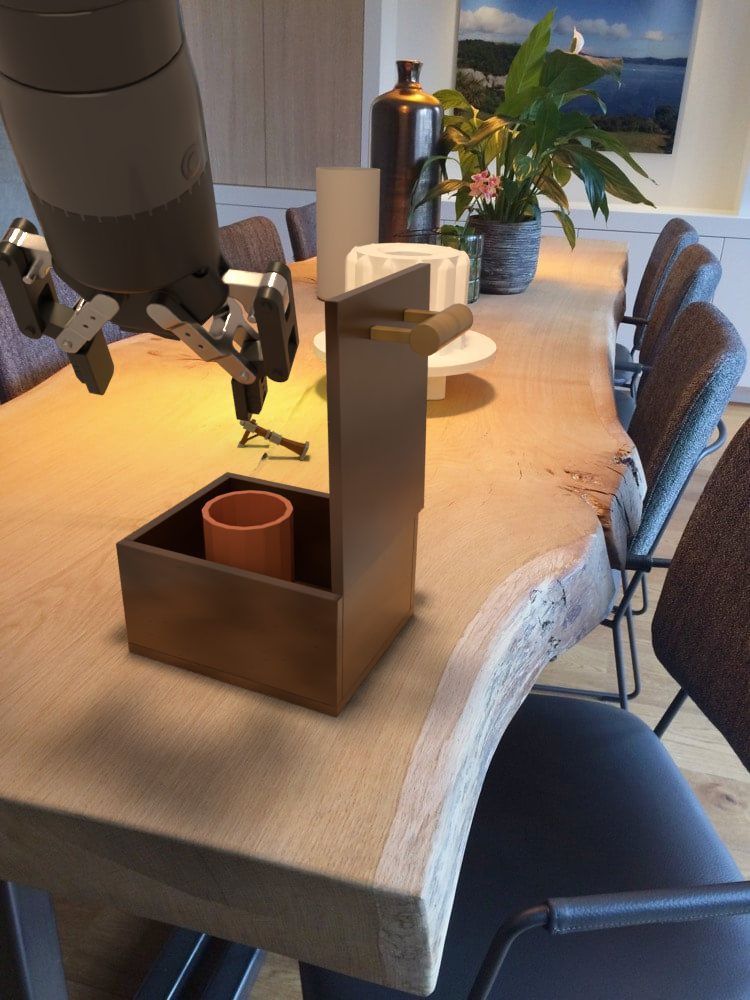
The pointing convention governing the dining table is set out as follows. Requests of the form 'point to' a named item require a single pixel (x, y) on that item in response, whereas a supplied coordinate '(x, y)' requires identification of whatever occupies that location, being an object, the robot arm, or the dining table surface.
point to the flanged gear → (444, 292)
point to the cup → (251, 533)
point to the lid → (379, 411)
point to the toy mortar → (271, 438)
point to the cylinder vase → (343, 221)
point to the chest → (263, 603)
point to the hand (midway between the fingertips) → (174, 395)
